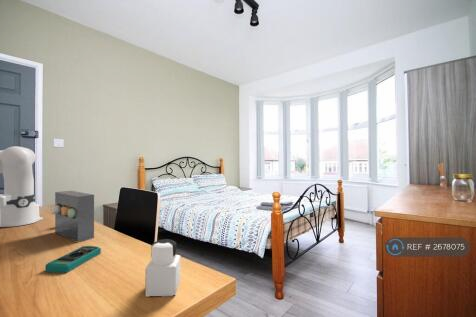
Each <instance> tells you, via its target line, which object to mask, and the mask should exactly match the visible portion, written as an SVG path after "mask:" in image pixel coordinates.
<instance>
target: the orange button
mask: <svg viewBox="0 0 476 317" xmlns="http://www.w3.org/2000/svg"><path fill="white" fill-rule="evenodd" d="M67 211H68V206H67V207H62V208H61V215H62V216H65V215H67Z"/></svg>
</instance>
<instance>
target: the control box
mask: <svg viewBox="0 0 476 317" xmlns="http://www.w3.org/2000/svg"><path fill="white" fill-rule="evenodd" d="M54 202H55V203H54V206H55V205H60V206H61V208H62V207H67V206H68V209H72V208H75V217H73V218H69V217H68V215H65V216H62V215H61V213H58V214H54V216H55V219H54V220H55V221H54V225H55V226H54V232H55V233H56V234H58V235H60V236H62V237H64V238H67V239H69V240H72V241H74V242H76V243H80V242H83V241H87V240H92V239H94V238H95V194H91V193H86V192H80V191H75V190H64V191H55V192H54Z"/></svg>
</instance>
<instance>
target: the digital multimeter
mask: <svg viewBox="0 0 476 317" xmlns="http://www.w3.org/2000/svg"><path fill="white" fill-rule="evenodd" d="M101 253H102V248H101V247H99V246H94V245H84V246H80V247H79V248H76V249H74V250H72V251H71V252H68V253H67V254H64V255H63V256H60V257H58V258H56V259H53V260H51V261H49V262H48V263H46V264H45V268H44V269H45V270H44V271H45V272H46V273H47V272H48V273H59V274H63V273H64V274H67V272H68V273H69V272H71V271H73V270H75V269H76V268H78V267H80V266H81V265H83V264H84V263H86V262H88V261H90V260H92V259H93V258H95V257H97V256H99V255H101Z"/></svg>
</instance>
